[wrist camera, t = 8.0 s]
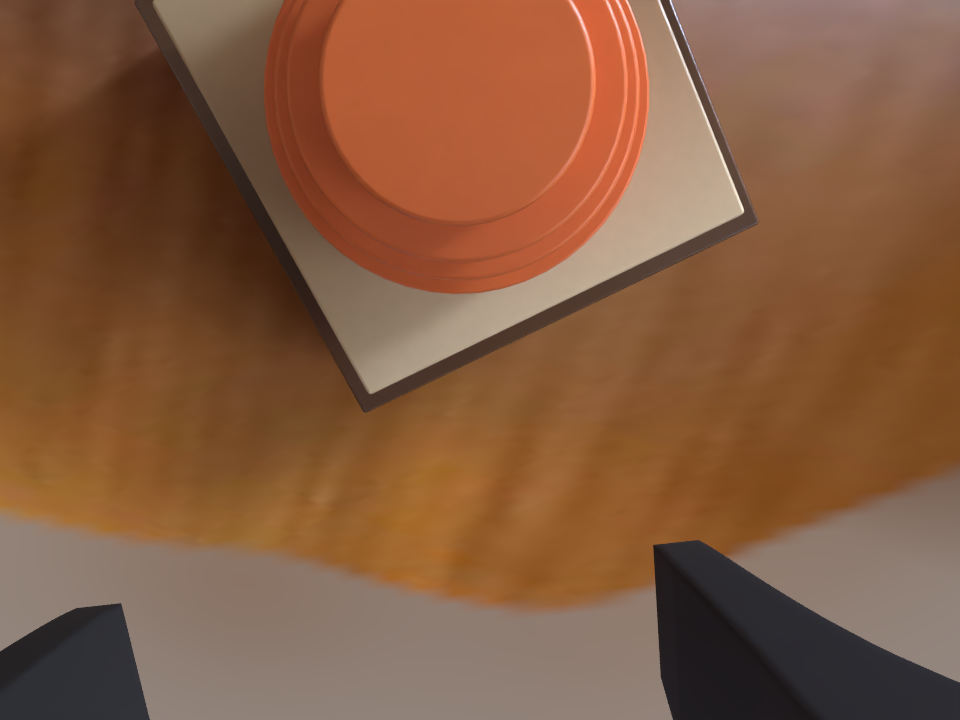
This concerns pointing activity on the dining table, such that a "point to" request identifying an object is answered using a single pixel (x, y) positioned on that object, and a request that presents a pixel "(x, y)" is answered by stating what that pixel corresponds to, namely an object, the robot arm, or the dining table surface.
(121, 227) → the dining table surface
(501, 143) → the cone
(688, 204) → the block stack
